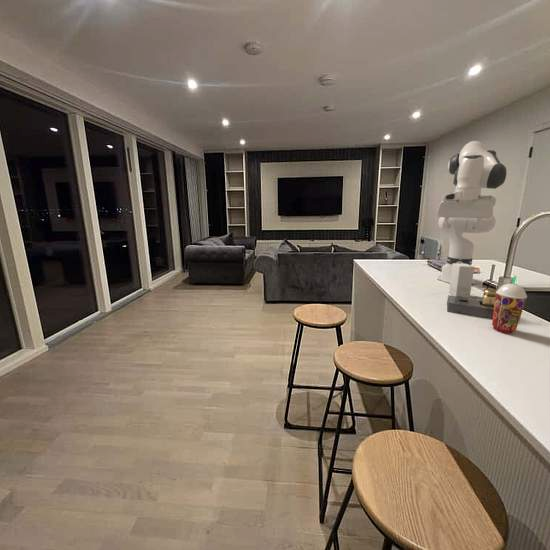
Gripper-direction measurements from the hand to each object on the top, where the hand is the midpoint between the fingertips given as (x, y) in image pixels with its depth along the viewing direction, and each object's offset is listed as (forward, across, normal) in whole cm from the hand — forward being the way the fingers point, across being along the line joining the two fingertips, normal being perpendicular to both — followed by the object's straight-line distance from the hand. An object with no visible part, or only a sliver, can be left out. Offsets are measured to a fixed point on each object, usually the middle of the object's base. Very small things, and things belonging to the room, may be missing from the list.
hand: (460, 228), depth 123 cm
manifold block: (+33, -9, +12) cm, 36 cm away
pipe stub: (+33, -13, +12) cm, 38 cm away
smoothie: (+33, -16, +28) cm, 46 cm away
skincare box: (+33, -4, -9) cm, 35 cm away
